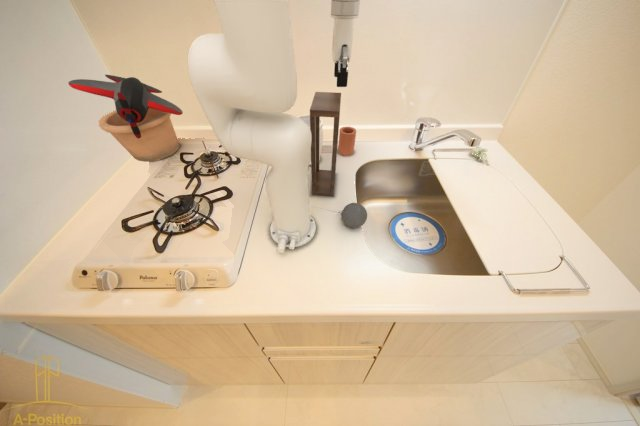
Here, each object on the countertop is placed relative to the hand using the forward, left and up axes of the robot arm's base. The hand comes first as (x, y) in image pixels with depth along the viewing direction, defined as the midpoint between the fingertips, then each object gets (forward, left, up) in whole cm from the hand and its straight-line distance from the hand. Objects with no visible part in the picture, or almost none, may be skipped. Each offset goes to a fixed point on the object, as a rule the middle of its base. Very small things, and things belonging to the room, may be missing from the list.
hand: (340, 81), depth 71 cm
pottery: (-9, +72, -25) cm, 77 cm away
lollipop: (-39, 0, -19) cm, 44 cm away
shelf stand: (-22, +3, -25) cm, 34 cm away
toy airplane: (-10, +63, +2) cm, 64 cm away
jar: (-8, +10, -25) cm, 28 cm away
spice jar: (-1, -4, -25) cm, 25 cm away
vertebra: (-2, -54, -24) cm, 60 cm away
